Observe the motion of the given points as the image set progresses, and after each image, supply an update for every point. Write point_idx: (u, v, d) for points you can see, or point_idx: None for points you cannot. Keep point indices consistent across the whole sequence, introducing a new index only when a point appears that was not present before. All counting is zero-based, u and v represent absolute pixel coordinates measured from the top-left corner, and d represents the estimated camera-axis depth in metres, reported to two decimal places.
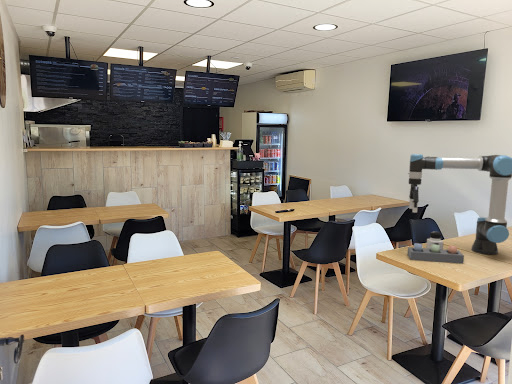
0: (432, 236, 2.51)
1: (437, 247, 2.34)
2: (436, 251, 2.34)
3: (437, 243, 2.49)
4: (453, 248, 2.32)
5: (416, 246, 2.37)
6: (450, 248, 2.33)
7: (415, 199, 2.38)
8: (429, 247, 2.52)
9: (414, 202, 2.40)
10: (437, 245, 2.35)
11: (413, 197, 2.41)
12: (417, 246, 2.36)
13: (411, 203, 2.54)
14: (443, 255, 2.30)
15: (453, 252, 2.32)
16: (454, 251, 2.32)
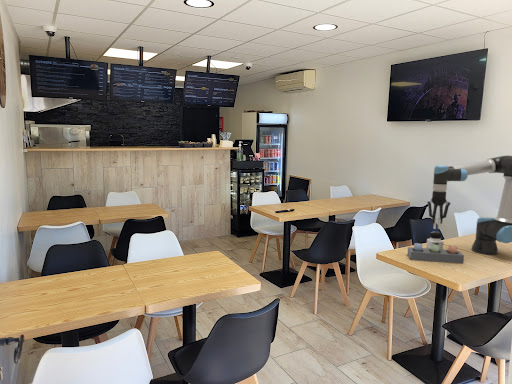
0: (432, 236, 2.51)
1: (437, 247, 2.34)
2: (436, 251, 2.34)
3: (437, 243, 2.49)
4: (453, 248, 2.32)
5: (416, 246, 2.37)
6: (450, 248, 2.33)
7: (429, 214, 2.35)
8: (429, 247, 2.52)
9: None
10: (437, 245, 2.35)
11: None
12: (417, 246, 2.36)
13: (438, 222, 2.34)
14: (443, 255, 2.30)
15: (453, 252, 2.32)
16: (454, 251, 2.32)
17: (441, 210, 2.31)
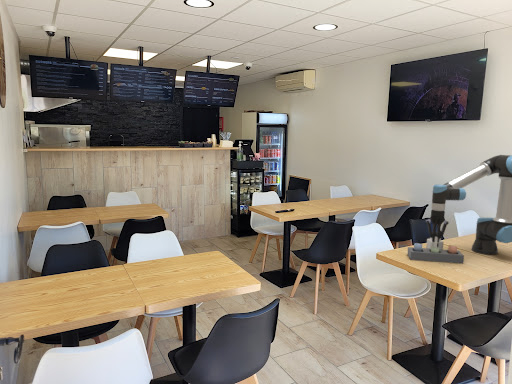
0: None
1: (437, 249, 2.34)
2: None
3: (437, 243, 2.49)
4: (453, 248, 2.32)
5: (416, 246, 2.37)
6: (450, 248, 2.33)
7: (429, 233, 2.36)
8: (429, 247, 2.52)
9: None
10: (437, 247, 2.36)
11: (433, 230, 2.36)
12: (417, 246, 2.36)
13: None
14: (443, 255, 2.30)
15: (453, 252, 2.32)
16: (454, 251, 2.32)
17: (439, 229, 2.33)
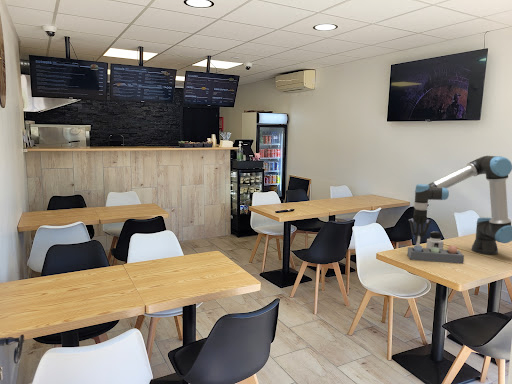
0: (432, 236, 2.51)
1: (437, 250, 2.34)
2: None
3: (437, 243, 2.49)
4: (453, 248, 2.32)
5: (416, 248, 2.37)
6: (450, 248, 2.33)
7: (412, 232, 2.38)
8: (429, 247, 2.52)
9: None
10: (437, 248, 2.36)
11: (416, 229, 2.38)
12: (417, 248, 2.36)
13: None
14: (443, 255, 2.30)
15: (453, 252, 2.32)
16: (454, 251, 2.32)
17: (421, 228, 2.35)
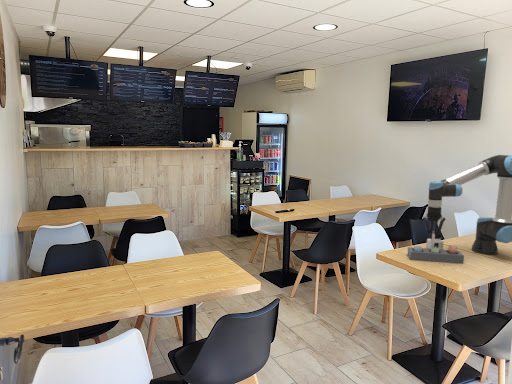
0: None
1: (437, 250, 2.34)
2: None
3: (437, 243, 2.49)
4: (453, 248, 2.32)
5: (416, 249, 2.37)
6: (450, 248, 2.33)
7: (426, 230, 2.37)
8: (429, 247, 2.52)
9: (431, 232, 2.36)
10: (437, 248, 2.36)
11: None
12: (417, 249, 2.36)
13: None
14: (443, 255, 2.30)
15: (453, 252, 2.32)
16: (454, 251, 2.32)
17: (436, 225, 2.33)
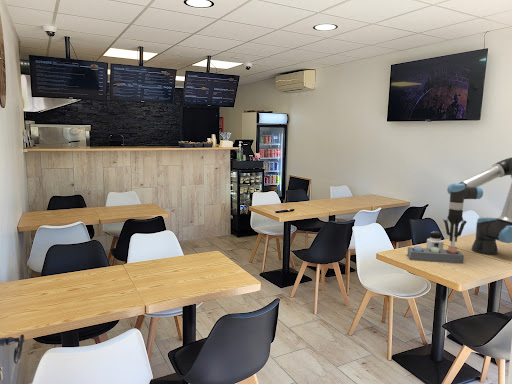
0: (432, 236, 2.51)
1: (437, 250, 2.34)
2: None
3: (437, 243, 2.49)
4: (453, 249, 2.32)
5: (416, 249, 2.37)
6: (450, 249, 2.33)
7: (446, 232, 2.34)
8: (429, 247, 2.52)
9: None
10: (437, 248, 2.36)
11: None
12: (417, 249, 2.36)
13: None
14: (443, 255, 2.30)
15: (453, 253, 2.32)
16: (454, 252, 2.32)
17: (456, 228, 2.31)
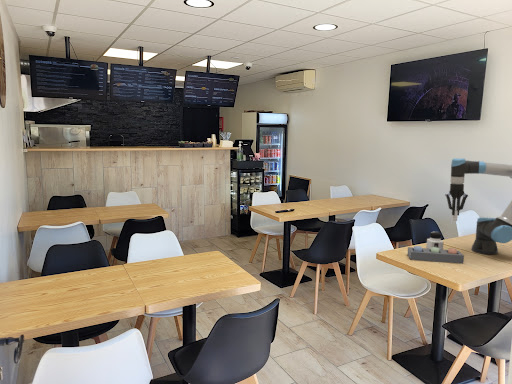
0: (432, 236, 2.51)
1: (437, 250, 2.34)
2: None
3: (437, 243, 2.49)
4: (453, 251, 2.32)
5: (416, 249, 2.37)
6: (450, 251, 2.33)
7: None
8: (429, 247, 2.52)
9: None
10: (437, 248, 2.36)
11: None
12: (417, 249, 2.36)
13: None
14: (443, 255, 2.30)
15: None
16: None
17: (458, 202, 2.36)
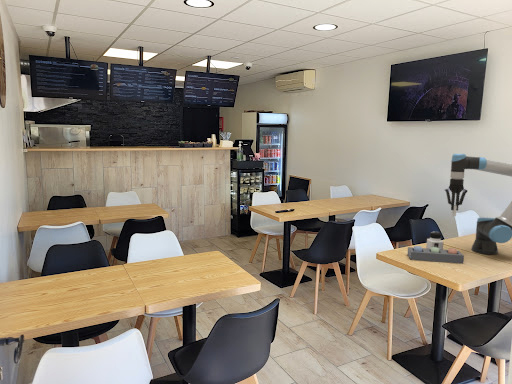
0: (432, 236, 2.51)
1: (437, 250, 2.34)
2: None
3: (437, 243, 2.49)
4: (453, 251, 2.32)
5: (416, 249, 2.37)
6: (450, 251, 2.33)
7: (448, 202, 2.41)
8: (429, 247, 2.52)
9: None
10: (437, 248, 2.36)
11: None
12: (417, 249, 2.36)
13: None
14: (443, 255, 2.30)
15: None
16: None
17: (458, 197, 2.38)
